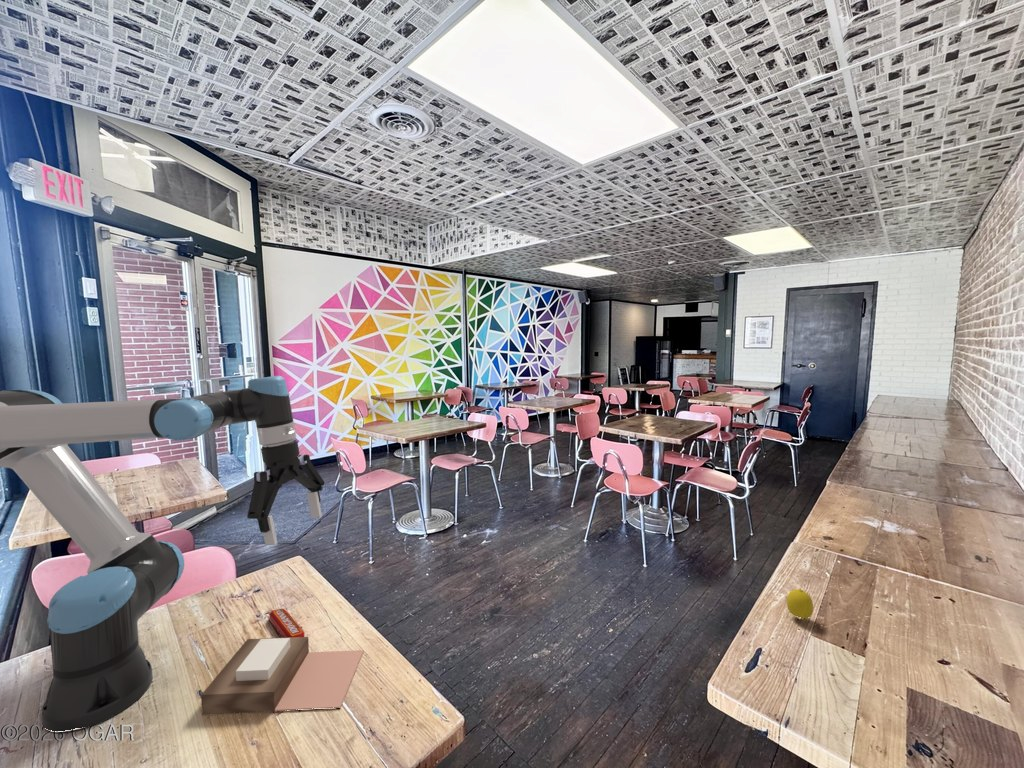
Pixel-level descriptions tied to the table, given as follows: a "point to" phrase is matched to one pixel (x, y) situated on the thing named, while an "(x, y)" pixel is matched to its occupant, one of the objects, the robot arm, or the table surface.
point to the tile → (263, 659)
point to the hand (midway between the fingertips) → (295, 529)
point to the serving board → (253, 682)
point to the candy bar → (285, 624)
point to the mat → (321, 680)
